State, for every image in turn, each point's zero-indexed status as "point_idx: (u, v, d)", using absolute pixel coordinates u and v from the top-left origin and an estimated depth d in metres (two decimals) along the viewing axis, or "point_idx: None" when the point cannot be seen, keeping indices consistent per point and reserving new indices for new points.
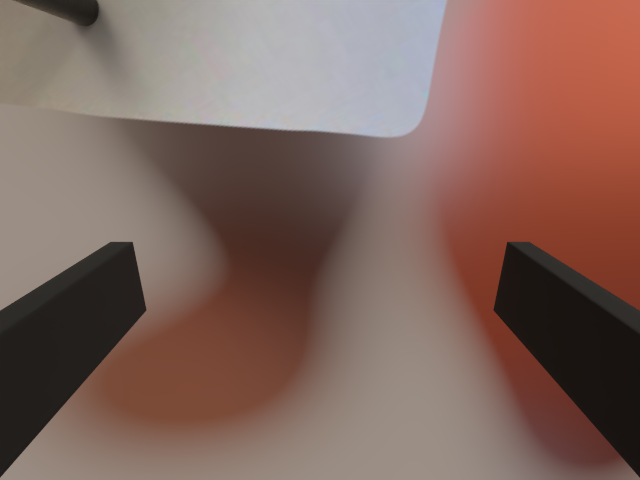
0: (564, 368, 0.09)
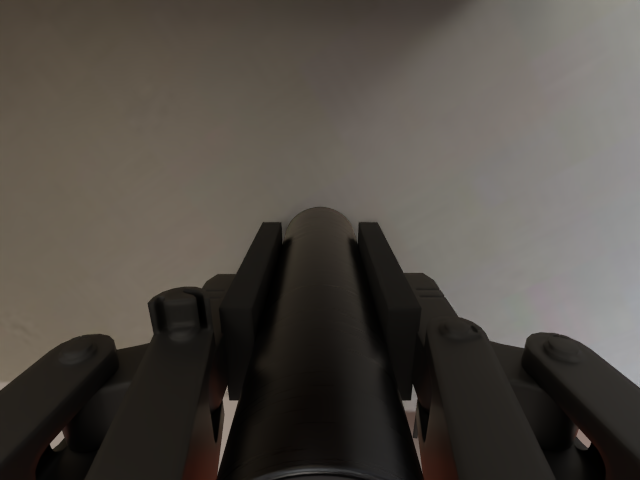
0: None
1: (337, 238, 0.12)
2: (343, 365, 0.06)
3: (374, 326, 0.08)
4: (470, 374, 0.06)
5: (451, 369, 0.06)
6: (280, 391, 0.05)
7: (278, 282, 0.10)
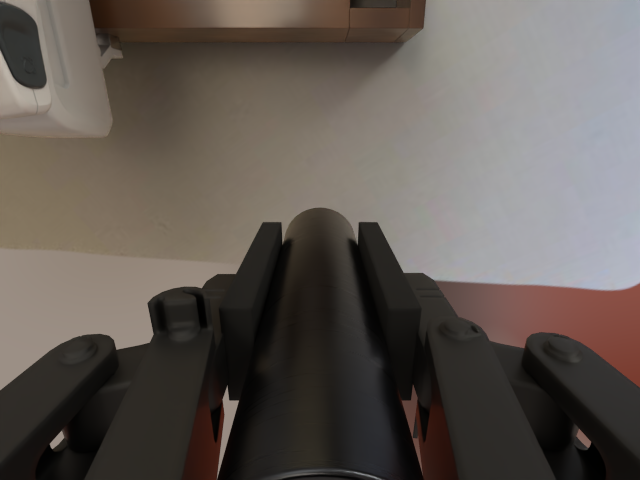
0: None
1: (337, 238, 0.12)
2: (344, 367, 0.06)
3: (374, 327, 0.08)
4: (470, 374, 0.06)
5: (451, 369, 0.06)
6: (281, 392, 0.05)
7: (278, 283, 0.10)
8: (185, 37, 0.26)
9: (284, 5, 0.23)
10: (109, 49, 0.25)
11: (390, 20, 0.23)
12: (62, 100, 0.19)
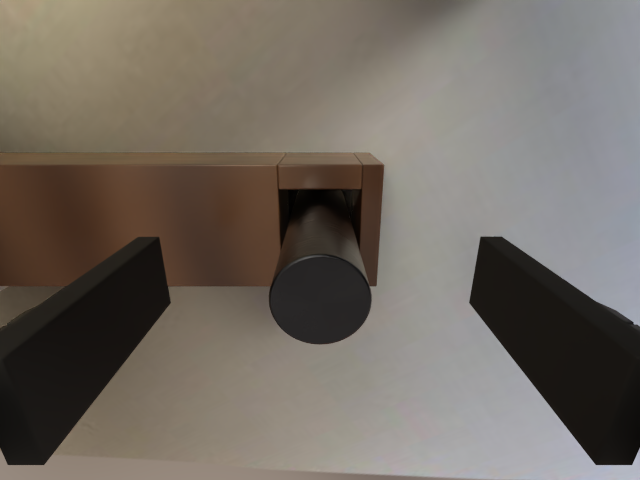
0: (526, 354, 0.10)
1: (331, 195, 0.18)
2: (331, 235, 0.12)
3: (350, 231, 0.14)
4: None
5: None
6: (301, 242, 0.11)
7: (294, 215, 0.16)
8: None
9: (197, 263, 0.18)
10: None
11: None
12: None
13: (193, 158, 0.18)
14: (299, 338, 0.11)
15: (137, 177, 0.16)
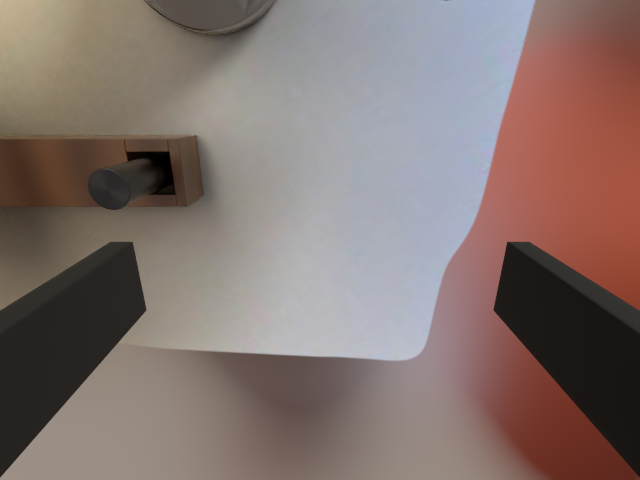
0: (563, 368, 0.09)
1: (160, 156, 0.33)
2: (123, 165, 0.27)
3: (145, 168, 0.29)
4: None
5: None
6: None
7: None
8: None
9: (89, 193, 0.33)
10: None
11: (163, 201, 0.34)
12: None
13: None
14: (103, 206, 0.27)
15: (52, 145, 0.32)
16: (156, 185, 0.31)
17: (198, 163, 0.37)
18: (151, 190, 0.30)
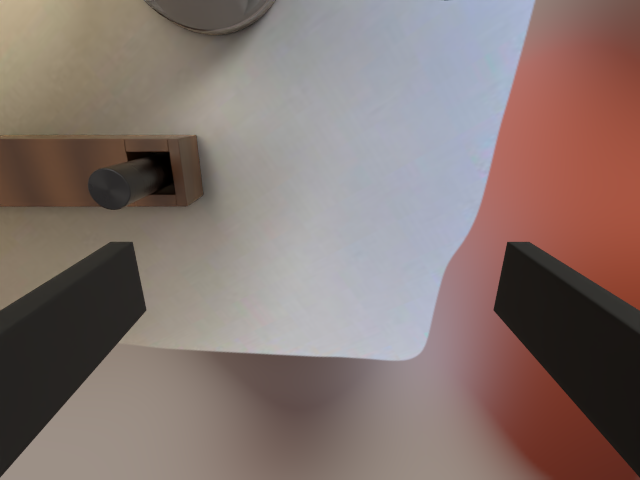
0: (563, 368, 0.09)
1: (160, 156, 0.33)
2: (123, 165, 0.27)
3: (145, 168, 0.29)
4: None
5: None
6: None
7: None
8: None
9: (89, 193, 0.33)
10: None
11: (163, 201, 0.34)
12: None
13: None
14: (103, 206, 0.27)
15: (52, 145, 0.32)
16: (156, 185, 0.31)
17: (198, 163, 0.37)
18: (151, 190, 0.30)
